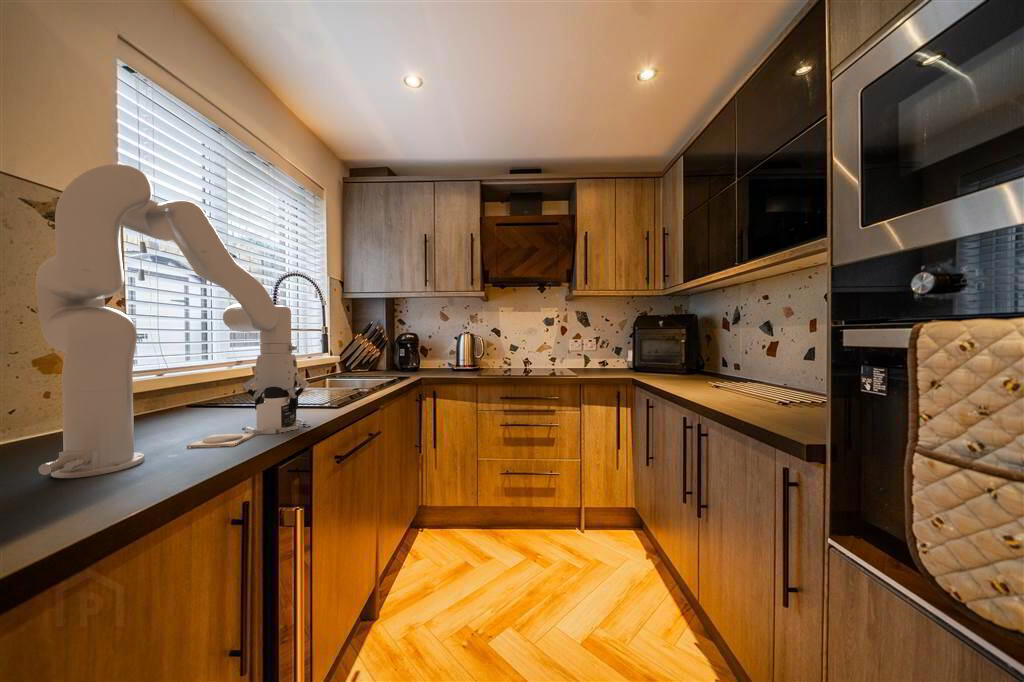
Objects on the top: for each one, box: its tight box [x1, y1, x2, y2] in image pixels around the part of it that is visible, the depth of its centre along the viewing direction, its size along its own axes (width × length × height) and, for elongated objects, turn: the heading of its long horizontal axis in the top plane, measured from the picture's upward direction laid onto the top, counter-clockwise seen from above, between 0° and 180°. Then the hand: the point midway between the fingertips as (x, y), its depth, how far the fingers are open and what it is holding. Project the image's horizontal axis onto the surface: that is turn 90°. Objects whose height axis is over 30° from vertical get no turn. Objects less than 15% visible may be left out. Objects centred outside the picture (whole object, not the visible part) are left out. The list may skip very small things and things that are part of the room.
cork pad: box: [186, 432, 256, 449], centre depth 96 cm, size 10×10×1 cm
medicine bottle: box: [255, 387, 297, 432], centre depth 109 cm, size 7×7×12 cm
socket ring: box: [241, 417, 311, 436], centre depth 109 cm, size 14×17×1 cm
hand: (276, 411), depth 109 cm, fingers closed on medicine bottle, 7 cm apart
